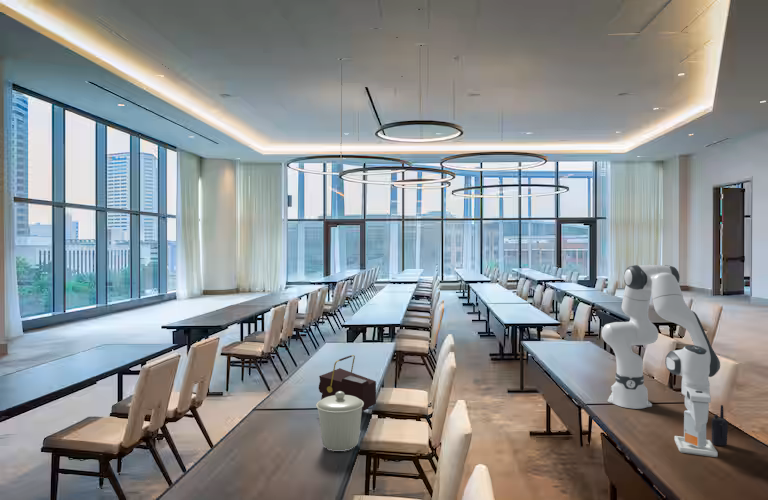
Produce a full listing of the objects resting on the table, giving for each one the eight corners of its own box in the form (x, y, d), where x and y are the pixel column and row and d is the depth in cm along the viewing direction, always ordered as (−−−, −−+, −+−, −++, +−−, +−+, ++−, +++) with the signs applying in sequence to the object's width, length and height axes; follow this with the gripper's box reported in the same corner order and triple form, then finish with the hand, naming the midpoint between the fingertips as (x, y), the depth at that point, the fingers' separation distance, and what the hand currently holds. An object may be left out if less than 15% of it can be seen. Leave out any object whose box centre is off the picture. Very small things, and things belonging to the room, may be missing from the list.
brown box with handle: (338, 403, 238) (338, 351, 237) (379, 411, 226) (379, 357, 226) (317, 413, 224) (316, 358, 223) (359, 422, 212) (359, 364, 211)
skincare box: (683, 442, 186) (683, 410, 186) (691, 440, 187) (691, 409, 187) (698, 448, 180) (698, 415, 180) (706, 446, 182) (706, 414, 182)
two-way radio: (723, 442, 189) (723, 403, 189) (731, 447, 184) (732, 407, 184) (709, 442, 189) (709, 403, 188) (717, 447, 184) (717, 407, 184)
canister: (320, 459, 177) (320, 401, 176) (313, 440, 194) (312, 386, 193) (369, 453, 182) (369, 396, 181) (358, 434, 199) (357, 382, 199)
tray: (674, 440, 191) (674, 435, 191) (709, 444, 187) (709, 440, 187) (680, 452, 181) (680, 447, 180) (717, 457, 176) (717, 452, 176)
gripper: (680, 381, 194) (680, 416, 195) (691, 397, 175) (690, 436, 176) (698, 383, 192) (698, 418, 192) (712, 399, 173) (711, 438, 173)
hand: (695, 427), depth 184 cm, fingers closed on skincare box, 7 cm apart
